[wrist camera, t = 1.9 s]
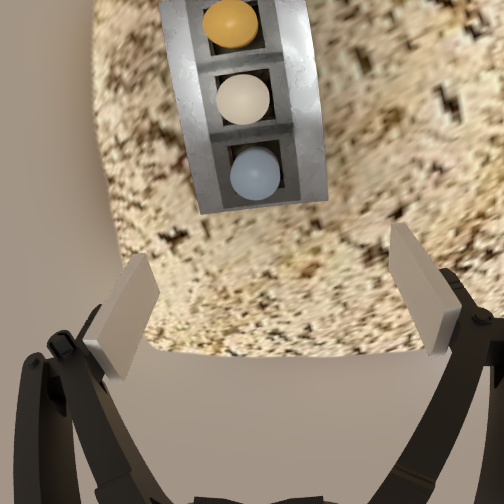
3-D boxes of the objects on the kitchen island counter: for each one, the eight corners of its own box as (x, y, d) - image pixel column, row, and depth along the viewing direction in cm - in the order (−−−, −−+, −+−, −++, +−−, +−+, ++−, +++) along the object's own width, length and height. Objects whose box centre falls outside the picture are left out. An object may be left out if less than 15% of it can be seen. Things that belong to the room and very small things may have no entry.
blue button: (234, 141, 33) (226, 157, 27) (275, 136, 32) (276, 150, 27) (240, 179, 35) (234, 202, 29) (280, 175, 34) (282, 197, 29)
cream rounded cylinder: (223, 78, 29) (212, 79, 24) (266, 71, 29) (265, 71, 23) (229, 118, 31) (221, 128, 26) (272, 112, 31) (272, 121, 25)
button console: (169, 8, 27) (152, -1, 22) (297, -13, 25) (302, -27, 20) (206, 200, 39) (197, 221, 34) (322, 187, 37) (330, 206, 32)
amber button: (212, 17, 26) (199, 4, 20) (255, 9, 25) (252, -5, 20) (219, 54, 28) (207, 50, 22) (262, 48, 27) (260, 41, 22)
